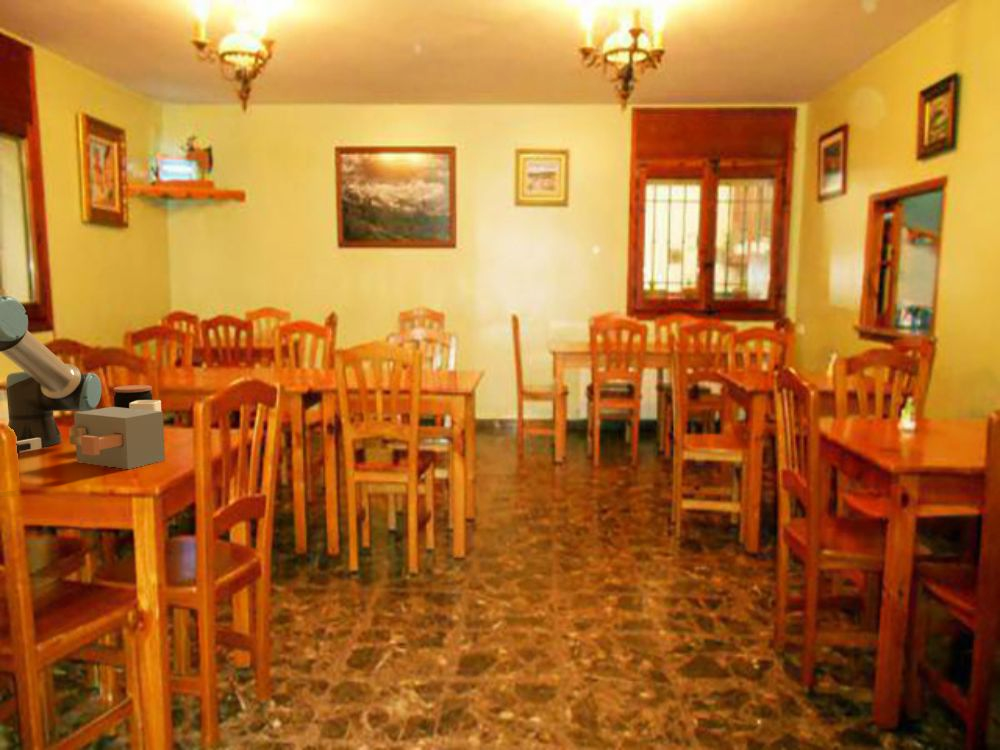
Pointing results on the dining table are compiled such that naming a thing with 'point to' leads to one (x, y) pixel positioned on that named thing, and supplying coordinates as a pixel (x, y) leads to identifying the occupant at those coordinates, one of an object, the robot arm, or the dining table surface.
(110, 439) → the terracotta plunger
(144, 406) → the cup
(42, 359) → the robot arm
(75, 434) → the pale plunger
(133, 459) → the wall block
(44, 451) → the dining table surface
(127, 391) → the coffee jar
